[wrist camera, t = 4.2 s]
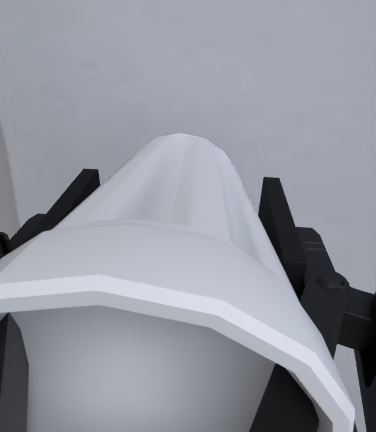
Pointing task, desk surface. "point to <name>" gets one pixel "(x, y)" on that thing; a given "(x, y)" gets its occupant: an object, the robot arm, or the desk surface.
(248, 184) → the desk surface
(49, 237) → the cup
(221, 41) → the desk surface
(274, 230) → the robot arm
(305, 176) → the desk surface
